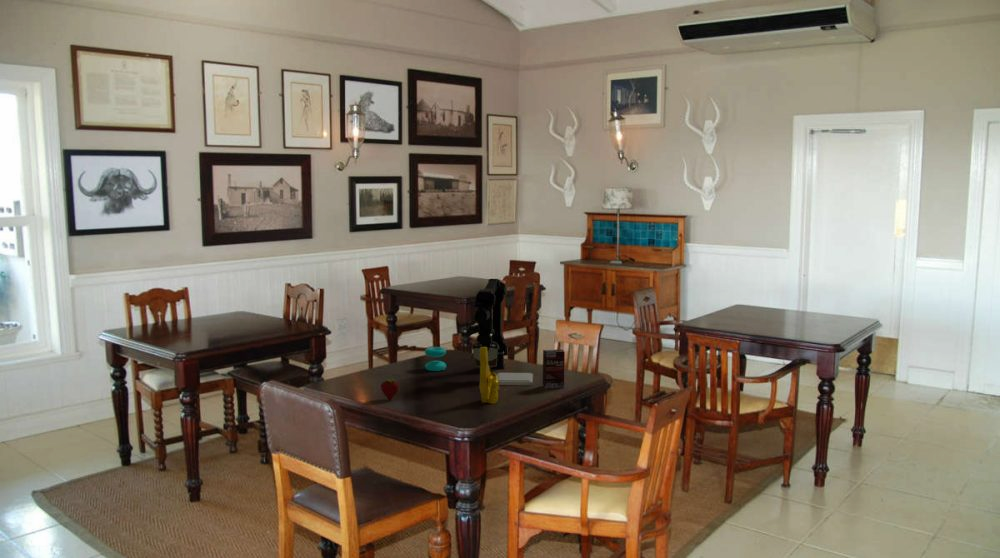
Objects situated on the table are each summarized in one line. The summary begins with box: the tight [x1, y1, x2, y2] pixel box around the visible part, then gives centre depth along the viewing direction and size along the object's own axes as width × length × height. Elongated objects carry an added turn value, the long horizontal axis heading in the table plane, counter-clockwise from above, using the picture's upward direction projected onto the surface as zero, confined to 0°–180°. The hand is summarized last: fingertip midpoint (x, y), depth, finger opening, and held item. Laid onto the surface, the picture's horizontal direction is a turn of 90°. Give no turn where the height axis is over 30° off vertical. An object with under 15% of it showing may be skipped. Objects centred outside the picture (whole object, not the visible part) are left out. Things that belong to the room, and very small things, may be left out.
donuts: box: [424, 346, 447, 372], centre depth 371 cm, size 10×10×10 cm
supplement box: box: [542, 349, 566, 389], centre depth 337 cm, size 9×5×16 cm, turn 102°
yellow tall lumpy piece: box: [479, 347, 501, 405], centre depth 313 cm, size 18×8×22 cm, turn 166°
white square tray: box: [496, 372, 534, 386], centre depth 349 cm, size 16×16×2 cm
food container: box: [471, 341, 499, 368], centre depth 349 cm, size 12×6×10 cm, turn 85°
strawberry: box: [380, 378, 400, 401], centre depth 317 cm, size 6×8×10 cm
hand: (485, 354), depth 349 cm, fingers closed on food container, 6 cm apart
